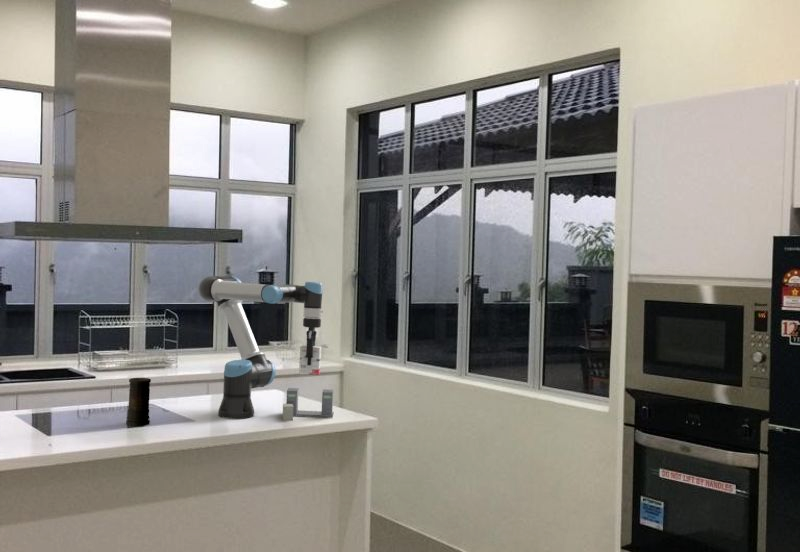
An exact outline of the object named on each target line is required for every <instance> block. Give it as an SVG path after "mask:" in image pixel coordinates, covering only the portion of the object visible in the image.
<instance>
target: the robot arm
mask: <svg viewBox="0 0 800 552" xmlns="http://www.w3.org/2000/svg"><path fill="white" fill-rule="evenodd" d="M198 293H199V296H200V297H201V298H202V299H203V300H204V301H206V302H213V303H216V305H217V307H218V309H219V310H222V311H223V313H224V316H225V318H226V321H227V324H228V327H229V330H230V333H231V334H232V337H233V340H234V343H235V345H236V347H237V349H238V352H239V355H240V357H241V359H234V360H230V361H228V362H226V363H225V365H224V369H223V370H224V371H223V396H222V400H221V402H220V405H219V407H218V415H217V416H219V417H221V418H226V419H238V420H239V419H247V418H251V417H254V416H255V409H254V405H253V402H252V397H251V396H252V389H256V388H257V389H258V388H264V387H266V386H269V385H270V384H272V382H273V381H274V379H275V377H276V373H277V372H276V371H277V370H276V366H275V364H274V362H272V361H271V360H270V359H267V357H266V354H265V353H264V352H262V351H260V349H259V346H258V343H257V341H256V339H255V336H254V333H253V331H252V328H251V326H250V322H249V319H248V318H247V314H246V312H245V310H244V308H243V302H244V301H245V302H246V301H247V302H257V303H258V302H260V303H267V304H272V305H273V304H274V305H275V304H282V303H283V304H284V303H285V304H286V303H291V304H292V303H294V304H295V303H300V304H303V317H304V318H303V319H302V327H304V328H307V329H308V330H307V331H306V334H305V335H306V346H307V349H306V356H305V358H306V373H312V365H313V358H312V357H313V346H316V339H317V337H316V336H317V330H316V329H317V328H321V326H322V324H321V323H322V319H321V317H322V313H323V310H322V301H323V283H322V282H320V281H319V282H318V281H306V282H304V285H297V284H284V285H283V284H281V285H280V284H276V285H275V284H260V283H248V282H242V281H241V279H239V278H238V277H237V276H232V275H209V276H206V277H204V278H203V279H202V280H200V283H199V285H198Z"/></svg>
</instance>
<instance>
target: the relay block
mask: <svg viewBox="0 0 800 552" xmlns="http://www.w3.org/2000/svg"><path fill="white" fill-rule="evenodd" d="M293 407H294V406H293V404H286V403H283V404H282V420H283V421H294V416H293Z"/></svg>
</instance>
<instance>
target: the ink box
mask: <svg viewBox="0 0 800 552" xmlns="http://www.w3.org/2000/svg"><path fill="white" fill-rule="evenodd" d="M306 349H307V345H301V346H300V348H299V365H298V366H299V368H298V374H299V375H307V376H308V375H312V376H319V375H320V374H321V367H322V366H321V365H322V346H317V345H315V346H313V357H312V358H313V365H312V373H306V358H305V356H306Z"/></svg>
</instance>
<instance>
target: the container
mask: <svg viewBox="0 0 800 552" xmlns="http://www.w3.org/2000/svg"><path fill="white" fill-rule="evenodd" d="M128 382H129V389H128V391H129V392H128V393H129V394H128V409H127V417H126V419H127V420H126V422H125V424H126V425H127V426H132V427H143V426H144V427H145V426H148V425H150V423H151V422H150V395H151V394H150V393H151V389H150V387H151V383H152V379H151V378H148V377H133V378H128Z"/></svg>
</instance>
